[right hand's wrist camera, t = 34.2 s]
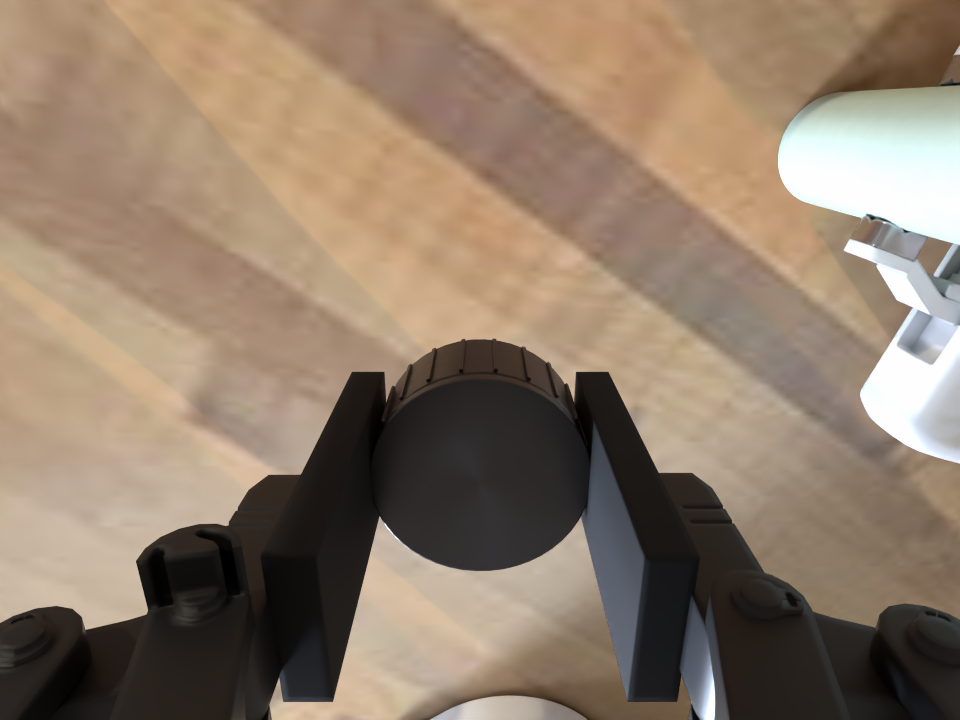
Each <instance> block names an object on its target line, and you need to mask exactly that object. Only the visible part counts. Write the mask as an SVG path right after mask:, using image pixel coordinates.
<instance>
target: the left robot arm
mask: <svg viewBox="0 0 960 720" xmlns="http://www.w3.org/2000/svg"><path fill="white" fill-rule="evenodd" d="M958 85H960V45H959V47H958V49H957V51H956V52H955V54H954V56H953V58H952V60H951V62H950V63H949V65H948V67H947V69H946V71H945V72H944V74H943V76H942V78H941V79H940V81H939V83H938V86H958ZM927 238H928V237H926V236H923V235H921V234H918V233H914V232H911V231H907V230H904V229H903V228H901V227H899V226H897V225H894V224H892V223H889V222H886V221H882V220H879V219H874V218H871V217H868V216H863V217H862V219H861V221H860V222H859V224H858V226H857V228H856V229H855V231H854V233H853V234H852V236H851V238H850V240H849V242H848V243H847V245H846V247H845V249H844V251H846V252H849V253H851V254H854V255H856V256H859V257H862V258H864V259H867V260H870V261H872V262H875V263H878V264H877V268H878V270H879V271H880V273H881V275H882V276H883V278H884V280H885V281H886V283H887V285H888V286H889V288H890V290H891V291H892V293H893V295H894V296H895V298H896V300H898V301H900V302H902V303H904V304H907V305H909V306H911V307H913V308H912V310H911V311H910V313H909V314H908V316H907V318H906V319H905V321H904V322H903V324H902V326H901V327H900V329H899V330H898V332H897V334H896V335H895V337H894V338H893V340H892V342H891V343H890V345H889V346H888V348H887V350H886V351H885V353H884V354H883V356H882V357H881V359H880V361H879V362H878V364H877V365H876V367H875V369H874V370H873V372H872V373H871V375H870V376H869V378H868V380H867V381H866V383H865V384H864V386H863V388H862V390H861V393H860V397H861V400H862V402H863V405H864V407H865V409H866V411H867V413H868V415H869V416H870V418H871V419H872V420H873V421H875V422H876V423H877V424H878V425H879V426H880V427H881V428H883V429H884V430H885V431H886V432H888V433H889V434H891V435H892V436H893V437H895V438H896V439H898V440H899V441H901V442H902V443H904V444H906V445H907V446H909V447H911V448H913V449H915V450H917V451H920V452H923V453H926V454H928V455H931V456H935V457H938V458H941V459H945V460H948V461H952V462H956V463H960V245H958V244H954V243H953V244H952V246H951V248H950V249H949V251H948V252H947V254H946V256H945V257H944V259H943V260H942V262H941V264H940V265H939V267H938V268H937V270H936V271H935V273H934V275H930V274H928V273H926V271H925V270H924V268H923V267H922V265H921V264H920V262H919V261H918V259H917V258H916V257H917V255H918V254H919V252H920V250H921V248H922V247H923V245H924V243H925V241H926V240H927ZM430 720H587V719H586V718H585V717H583V716H582V715H580V714H579V713H577V712H576V711H574V710H572V709H570V708H568V707H566V706H563V705H561V704H558V703H555V702H552V701H548V700H544V699H540V698H534V697H527V696H494V697H487V698H481V699H476V700H473V701H469V702H466V703H463V704H460V705H457V706H455V707H453V708H451V709H448V710H446V711H445V712H443V713H441V714H439V715H437V716H436V717H434V718H432V719H430Z"/></svg>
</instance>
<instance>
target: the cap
mask: <svg viewBox="0 0 960 720" xmlns="http://www.w3.org/2000/svg"><path fill="white" fill-rule="evenodd" d="M380 424H381V426H380V429H379V432H378V435H377V438H376V441H375V444H374V447H373V450H372V454H371V459H370V473H371V487H372V498H373V502H374V504H375V507H376V509H377V511H378V514H379V515H380V517H381V519H382V520H383V522H384V524H385V525H386V526H387V528H388V529H389V530H390V531H391V533H392V534H393V535H394V536H395V537H396V538H397V539H398V540H399V541H400V542H401V543H402V544H404V545H405V546H406V547H408V548H409V549H410V550H412V551H413V552H415V553H417V554H418V555H420V556H422V557H423V558H426V559H428V560H430V561H432V562H435V563H437V564H440V565H444V566H447V567H451V568H456V569H461V570H470V571H492V570H500V569H506V568H510V567H514V566H518V565H521V564H523V563H526V562H529V561H531V560H533V559H535V558H537V557H539V556H541V555H543V554H545V553H546V552H548V551H549V550H551V549H552V548H554V547H555V546H556V545H557V544H558V543H560V542H561V541H562V540H563V539H564V538H565V537H566V536H567V535H568V534H569V533H570V532H571V530H572V529H573V528H574V526H575V525H576V523H577V522H578V521H579V519H580V517H581V515H582V513H583V511H584V509H585V507H586V504H587V501H588V493H589V480H590V466H591V459H590V456H589V452H588V448H587V447H588V445H587V442H586V439H585V436H584V433H583V430H582V427H581V424H580V420H579V417H578V414H577V411H576V408H575V404H574V401H573V398H572V395H571V392H570V389H569V386H568V384H567V383H566V384H564V382H563V381H562V379H561V378H560V377H559V375H558V374H557V373H556V372H555V371H554V369H552V367H551V364H550V363H549V362H547V363H546V362H545V361H543V360H542V359H541V358H539V357H538V356H536V355H535V354H533V353H531V352H529V351H527V350H526V348H525V347H523V346H522V348H521V347H518V346H515V345H513V344H510V343H505V342H501V341H496V339H492V340H485V339H484V340H467V341H465V339H462V340H461V341H460V342H456V343H452V344H448V345H445V346H443V347H440V348H438V349H436V348H434V349H432V352H430V353H428V354H426V355H425V356H423V357H422V358H420V359H419V360H418V361H417V362H415V363H414V364H413V365H411V364H410V365H409V366H408V369H407V371H406V372H405V373H404V374H403V375H402V377H401V378H400V380H399V381H398V382H397V384H396V386H395V387H394V386H392V388H391V390H390V393H389V396H388V399H387V402H386V405H385V409H384V412H383V415H382V418H381V421H380Z"/></svg>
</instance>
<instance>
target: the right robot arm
mask: <svg viewBox="0 0 960 720" xmlns="http://www.w3.org/2000/svg"><path fill="white" fill-rule="evenodd" d="M574 404H575V408H576V411H577V414H578V417H579V420H580V424H581V427H582V430H583V433H584V436H585V439H586V442H587V445H588V447H587V448H588V452H589V456H590V459H591V466H590V480H589V493H588V501H587V504H586V507H585V509H584V511H583V513H582V515H581V518H582V522H583V526H584V530H585V534H586V538H587V542H588V546H589V550H590V554H591V558H592V562H593V566H594V570H595V574H596V578H597V582H598V586H599V590H600V594H601V598H602V602H603V606H604V610H605V614H606V618H607V622H608V626H609V630H610V634H611V638H612V642H613V646H614V650H615V654H616V658H617V662H618V666H619V670H620V674H621V678H622V682H623V686H624V690H625V694H626V698H627V702H677V699H678V693H679V686H680V680H681V675H682V677H683V680H684V683H685V686H686V688H687V691H688V694H689V697H690V700H691V706H690V712H689V718H688V720H960V620H959V619H957V618H955V617H953V616H951V615H950V614H947V613H944V612H941V611H938V610H935V609H932V608H929V607H926V606H920V605H912V604H900V605H895V606H889V607H888V608H887V609H885V610H884V611H883V612H882V613H881V614H880V615H879V619H878V622H877V625H876V628H874V627H870V626H866V625H861V624H857V623H853V622H848V621H844V620H840V619H835V618H831V617H828V616H825V615H821V614H818V613H815V612H813V611H812V609H811V607H810V606H809V604H808V603H807V601H806V600H805V598H804V596H803V595H802V594H800V593H799V592H798V591H797V590H796V589H794V588H793V587H792V586H791V585H790V584H788V583H786V582H784V581H782V580H780V579H778V578H776V577H774V576H772V575H769V574H766V573H764V571H763V569H762V568H761V566H760V565H759V563H758V561H757V560H756V558H755V557H754V555H753V553H752V552H751V550H750V549H749V547H748V545H747V544H746V542H745V540H744V539H743V537H742V536H741V534H740V532H739V531H738V529H737V528H736V526H735V524H732V520H731V518H730V516H729V515H728V513H727V511H726V510H725V509H723V505H722V503H721V502H720V500H719V499H718V497H717V495H716V494H715V492H714V491H713V489H712V488H711V487H710V486H709V485H707V484H706V483H704V482H703V481H702V480H700V479H699V478H698V477H696V476H695V475H694V474H692V473H658V471H657V469H656V467H655V465H654V463H653V461H652V459H651V457H650V455H649V453H648V451H647V449H646V447H645V445H644V443H643V441H642V439H641V437H640V435H639V433H638V431H637V429H636V427H635V425H634V423H633V421H632V419H631V417H630V415H629V413H628V411H627V409H626V407H625V405H624V403H623V401H622V399H621V397H620V395H619V393H618V391H617V389H616V387H615V384H614V382H613V380H612V378H611V376H610V374H609V372H576V382H575V398H574ZM385 405H386V391H385V375H384V372H352V373H351V375H350V377H349V379H348V381H347V383H346V385H345V387H344V389H343V391H342V393H341V395H340V397H339V399H338V401H337V403H336V405H335V407H334V409H333V411H332V413H331V415H330V417H329V419H328V421H327V423H326V425H325V427H324V429H323V432H322V434H321V436H320V438H319V440H318V442H317V444H316V446H315V448H314V450H313V452H312V454H311V456H310V458H309V460H308V462H307V464H306V466H305V468H304V470H303V472H302V474H301V475H268V476H267V477H265V478H264V479H263V480H261V481H260V482H259V483H257V484H256V485H255V486H253V487H252V488H251V489H249V490H248V492H247V494H246V495H245V497H244V499H243V500H242V502H241V503H240V505H239V507H238V511H235V513H234V515H233V516H232V518H231V520H230V521H229V526H223V525H219V524H198V525H194V526H189V527H185V528H181V529H178V530H176V531H173V532H171V533H169V534H167V535H164V536H162V537H160V538H159V539H157V540H156V541H155V542H153V543H152V544H151V545H149V546H148V547H147V548H145V550H144V551H143V552H142V554H141V555H140V556H139V558H138V559H137V561H136V563H137V567H138V571H139V575H140V579H141V583H142V587H143V591H144V595H145V599H146V603H147V607H148V613H147V615H144V616H141V617H137V618H134V619H131V620H127V621H123V622H118V623H114V624H110V625H105V626H101V627H97V628H93V629H88V630H85V627H84V624H83V620H82V617H81V616H80V615H79V614H78V613H76V612H75V611H74V610H73V609H70V608H64V607H59V606H53V607H45V608H37V609H33V610H30V611H27V612H24V613H21V614H18V615H15V616H13V617H11V618H9V619H7V620H5V621H3V622H2V623H0V720H272V718H271V712H270V706H269V704H270V701H271V698H272V695H273V693H274V690H275V687H276V684H277V681H278V679H279V678H280V684H281V690H282V696H283V702H333V699H334V695H335V691H336V687H337V683H338V679H339V675H340V671H341V667H342V663H343V659H344V655H345V651H346V647H347V643H348V639H349V635H350V631H351V627H352V623H353V619H354V615H355V611H356V607H357V604H358V600H359V596H360V592H361V588H362V584H363V580H364V576H365V572H366V568H367V564H368V560H369V556H370V552H371V548H372V544H373V540H374V536H375V532H376V528H377V524H378V520H379V516H380V515H379V514H378V511H377V509H376V507H375V504H374V502H373V498H372V487H371V473H370V459H371V454H372V450H373V447H374V444H375V441H376V438H377V435H378V432H379V429H380V426H381V424H380V421H381V418H382V415H383V412H384V409H385Z"/></svg>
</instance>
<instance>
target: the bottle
mask: <svg viewBox="0 0 960 720" xmlns="http://www.w3.org/2000/svg"><path fill="white" fill-rule="evenodd" d="M778 165H779V171H780V176H781V178H782V181H783V183H784V184H785V186H786V188H787V189H788V190H789V191H790V193H792V194H793V195H794V196H795V197H796V198H798V199H800V200H802V201H804V202H806V203H810V204H813V205H817V206H820V207H824V208H828V209H831V210H835V211H839V212H842V213H846V214H849V215H853V216H857V217H860V218H862V217H863V216H868V217H871V218H874V219H879V220H882V221H886V222H889V223H892V224H894V225H897V226H899V227H901V228H903V229H904V230H907V231H911V232H914V233H918V234H922V235H925V236H929V237H933V238H936V239H940V240H943V241H947V242H951V243H954V244H958V245H960V85H958V86H940V87H922V88H903V89H885V90H867V91H848V92H836V93H831V94H828V95H825V96H822V97H820V98H818V99H816V100H814V101H813V102H811V103H810V104H808V105H807V106H805V107H804V108H803V109H802V110H801V111H800V112H799V113H798V114H797V115H796V116H795V117H794V119H793V120H792V121H791V123H790V124H789V126H788V127H787V129H786V131H785V133H784V135H783V138H782V140H781V144H780V148H779V154H778Z"/></svg>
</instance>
